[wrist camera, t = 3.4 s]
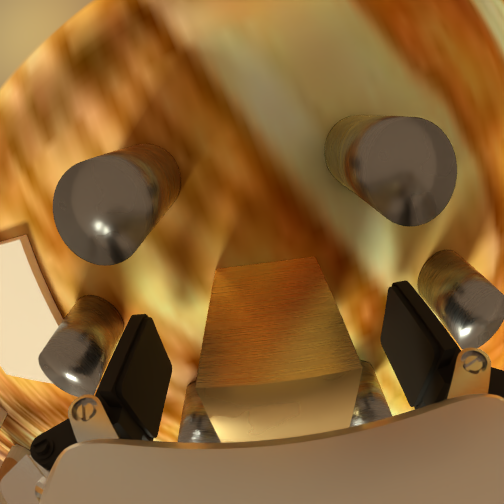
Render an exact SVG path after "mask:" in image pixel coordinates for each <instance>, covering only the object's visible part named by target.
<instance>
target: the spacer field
mask: <svg viewBox="0 0 504 504" xmlns="http://www.w3.org/2000/svg"><path fill="white" fill-rule="evenodd" d="M325 160H326V164H327V166H328V169H329V171H330V172H331V174H332V175H333V176H334V178H335V179H336V180H337V181H339V182H340V183H341V184H343V185H344V186H345V187H347V188H348V189H350V190H351V191H352V192H354V193H355V194H356V195H358V196H359V197H360V198H362V199H363V200H364V201H366V202H367V203H368V204H369V205H371V206H372V207H373V208H375V209H376V210H377V211H378V212H380V213H381V214H382V215H383V216H385V217H386V218H387V219H389V220H390V221H392V222H394V223H396V224H398V225H402V226H418V225H422V224H425V223H427V222H429V221H431V220H432V219H434V218H435V217H436V216H437V215H439V214H440V213H441V211H442V210H443V209H444V208H445V207H446V205H447V204H448V202H449V200H450V198H451V196H452V194H453V191H454V188H455V184H456V177H457V164H456V157H455V153H454V150H453V147H452V145H451V143H450V141H449V139H448V138H447V136H446V135H445V134H444V132H443V131H442V130H441V129H440V128H439V127H438V126H436V125H435V124H433V123H432V122H430V121H428V120H425V119H422V118H416V117H400V116H371V115H356V116H350V117H347V118H344V119H342V120H341V121H339V122H338V123H337V124H336V125H335V126H334V127H333V128H332V129H331V131H330V132H329V134H328V136H327V139H326V143H325ZM180 185H181V177H180V172H179V168H178V166H177V164H176V162H175V160H174V159H173V157H172V156H171V155H170V154H169V153H168V152H167V151H166V150H164V149H162V148H161V147H159V146H156V145H152V144H138V145H134V146H131V147H127V148H124V149H120V150H117V151H113V152H110V153H107V154H104V155H101V156H97V157H94V158H91V159H88V160H85V161H82V162H80V163H78V164H75V165H74V166H72V167H71V168H70V169H68V170H67V171H66V172H65V173H64V175H63V176H62V177H61V179H60V180H59V182H58V185H57V187H56V190H55V193H54V198H53V214H54V220H55V224H56V227H57V229H58V232H59V234H60V236H61V238H62V239H63V241H64V242H65V244H66V245H67V246H68V247H69V248H70V249H71V250H72V251H73V252H74V253H75V254H76V255H77V256H79V257H80V258H82V259H84V260H86V261H88V262H90V263H93V264H97V265H114V264H118V263H120V262H123V261H124V260H126V259H128V258H129V257H130V256H131V255H132V254H133V253H134V252H135V251H136V250H137V248H138V247H139V246H140V245H141V243H142V242H143V241H144V239H145V238H146V237H147V235H148V234H149V233H150V232H151V230H152V229H153V228H154V227H155V225H156V224H157V223H158V222H159V220H160V219H161V218H162V217H163V215H164V214H165V213H166V212H167V210H168V209H169V208H170V207H171V206H172V204H173V203H174V202H175V200H176V198H177V196H178V194H179V190H180ZM418 291H419V293H420V295H421V296H422V297H423V298H424V300H425V301H426V302H427V303H428V305H429V306H430V307H431V308H432V310H433V311H434V312H435V313H436V315H437V316H438V317H439V319H440V320H441V321H442V323H443V324H444V325H445V327H446V328H447V329H448V331H449V332H450V333H451V335H452V336H453V337H454V339H455V340H456V341H457V343H458V344H459V346H460V347H461V348H462V349H465V348H470V347H472V348H478V347H480V346H482V345H483V344H484V343H486V342H487V341H488V340H489V339H490V338H491V337H492V336H493V335H494V334H495V333H496V331H497V330H498V329H499V327H500V325H501V324H502V322H503V320H504V295H503V294H502V293H501V292H500V291H499V290H498V289H497V288H496V287H495V286H494V285H492V284H491V283H490V282H489V281H488V280H487V279H486V278H485V277H484V276H483V275H481V274H480V273H479V272H478V271H477V270H476V269H475V268H473V267H472V266H471V265H470V264H469V263H468V262H466V261H465V260H464V259H463V258H462V257H460V256H459V255H458V254H457V253H456V252H454V251H452V250H443V251H440V252H438V253H436V254H435V255H433V256H432V257H431V258H430V259H429V260H428V261H427V262H426V263H425V265H424V266H423V268H422V270H421V272H420V275H419V278H418ZM123 327H124V326H123V320H122V318H121V316H120V314H119V312H118V311H117V310H116V309H115V308H114V307H113V306H112V305H111V304H110V303H109V302H107V301H106V300H104V299H102V298H100V297H97V296H92V295H87V296H83V297H81V298H80V299H79V300H78V301H77V302H76V304H75V305H74V306H73V308H72V309H71V310H70V312H69V313H68V314H67V316H66V317H65V318H64V320H63V321H62V323H61V324H60V325H59V327H58V328H57V330H56V331H55V332H54V334H53V335H52V337H51V338H50V340H49V341H48V343H47V344H46V346H45V347H44V348H43V350H42V352H41V353H40V355H39V357H38V361H39V365H40V367H41V369H42V371H43V372H44V374H45V375H46V376H47V378H48V379H49V380H50V381H51V382H52V383H54V384H55V385H56V386H57V387H59V388H60V389H62V390H63V391H65V392H67V393H69V394H71V395H74V396H77V397H80V396H83V395H88V394H90V395H94V393H95V391H96V389H97V386H98V384H99V382H100V379H101V377H102V375H103V373H104V370H105V368H106V366H107V364H108V362H109V359H110V357H111V355H112V353H113V351H114V349H115V347H116V344H117V342H118V340H119V338H120V336H121V334H122V332H123ZM360 363H361V365H362V373H361V378H360V383H359V388H358V393H357V397H356V402H355V406H354V410H353V415H352V419H351V423H350V427H353V426H357V425H362V424H366V423H370V422H374V421H377V420H381V419H385V418H388V417H392V415H391V412H390V409H389V407H388V404H387V402H386V399H385V397H384V394H383V392H382V389H381V387H380V384H379V382H378V379H377V377H376V374H375V372H374V370H373V367H372V365H371V364H370V363H368V362H366V361H360ZM195 387H196V381H194V382H192V383H191V384H189V385H188V387H187V389H186V394H185V400H184V406H183V412H182V418H181V423H180V430H179V436H178V442H183V443H221V441H220V439H219V437H218V435H217V433H216V431H215V429H214V427H213V425H212V423H211V421H210V419H209V417H208V415H207V413H206V410H205V408H204V406H203V404H202V402H201V400H200V397H199V395H198V393H197V391H196V389H195Z"/></svg>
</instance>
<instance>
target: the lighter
mask: <svg viewBox="0 0 504 504" xmlns="http://www.w3.org/2000/svg"><path fill="white" fill-rule="evenodd" d="M7 414H8V413H7V412H6V411H5V410H4V409H3V408H1V407H0V427H1V425H2V424H3V422H4V420H5V418H6V416H7Z"/></svg>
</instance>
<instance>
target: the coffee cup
mask: <svg viewBox="0 0 504 504" xmlns="http://www.w3.org/2000/svg"><path fill="white" fill-rule="evenodd" d="M26 454H27V455H28V456H30V455H31V453H30V451H29V450H28V449H26V448H24V447H22V446H20V445H18V444H15V446H12V448H11V450H10V451H9V453H8V455H7V457H6V458H5V460H4V462H3V464H2V466H1V468H0V482H1V480H2V478H3V477H4V476H5V475H6V474H7V473H8V472H9V471H10V470H11V469H12V468H13V467H14V466H15V465H16V464H17V463H18V462H19V461H20V460H21V459H22V458H23V457H24V456H25V455H26ZM0 504H8V503H7V502H6V500H5V499H4V497H3V495H2V493H1V491H0Z"/></svg>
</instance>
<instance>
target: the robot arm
mask: <svg viewBox="0 0 504 504" xmlns="http://www.w3.org/2000/svg"><path fill="white" fill-rule="evenodd" d="M381 345H382V347H383V349H384V351H385V353H386V355H387V357H388V359H389V361H390V364H391V366H392V368H393V370H394V372H395V374H396V376H397V378H398V380H399V383H400V385H401V387H402V389H403V391H404V393H405V396H406V398H407V400H408V402H409V404H410V406H411V407H413V406H414V407H415V410H412V411H409V412H406V413H402V414H399V415H395V416H392V417H388V418H385V419H381V420H377V421H374V422H370V423H366V424H362V425H357V426H353V427H348V428H344V429H339V430H333V431H328V432H323V433H317V434H311V435H304V436H297V437H289V438H281V439H272V440H261V441H247V442H226V443H183V442H159V441H153V438H156V437H157V435H158V431H159V426H160V421H161V417H162V412H163V408H164V403H165V399H166V395H167V390H168V386H169V382H170V378H171V374H172V365H171V362H170V360H169V358H168V355H167V353H166V351H165V348H164V346H163V344H162V341H161V339H160V337H159V334H158V332H157V329H156V327H155V324H154V322H153V320H152V318H151V317H148V316H147V315H146V314H138V315H132V316H131V318H130V320H129V322H128V324H127V326H126V328H125V330H124V332H123V334H122V336H121V338H120V340H119V343H118V345H117V347H116V349H115V351H114V353H113V355H112V358H111V360H110V362H109V364H108V366H107V369H106V371H105V373H104V375H103V378H102V380H101V382H100V385H99V387H98V389H97V392H96V394H95V396H94V395H90V394H88V395H83V396H80V397H78V398H77V399H75V400H74V401H73V402H72V403H71V405H70V407H69V410H68V416H69V419H67V420H65V421H64V422H62V423H60V424H58V425H57V426H55V427H53V428H51V429H49V430H48V431H46V432H44V433H42V434H41V435H39V436H37V437H36V438H35V439H34V441H33V442H32V444H31V448H30V453H31V455H30V456H28V455H27V454H26V455H25V456H24V457H23V458H22V459H21V460H20V461H19V462H18V463H17V464H16V465H15V466H14V467H13V468H12V469H11V470H10V471H9V472H8V473H7V474H6V475H5V476H4V477H3V478H2V480H1V482H0V491H1V493H2V495H3V497H4V499H5V500H6V502H7V503H8V504H504V371H502V370H499V369H496V368H492V367H491V361H490V358H489V356H488V355H487V354H486V353H485V352H483V351H482V350H480V349H477V348H472V347H470V348H465V349H463V350H462V351H461V350H460V349H459V347H458V346H457V344H456V343H455V341H454V340H453V339H452V337H451V336H450V335H449V333H448V332H447V330H446V329H445V328H444V326H443V325H442V324H441V322H440V321H439V320H438V319H437V317H436V316H435V315H434V313H433V312H432V311H431V309H430V308H429V307H428V306H427V304H426V303H425V302H424V301H423V299H422V298H421V297H420V296H419V294H418V293H417V292H416V291H415V290H414V288H413V287H412V286H411V285H410V283H409V282H408V281H400V282H395V283H393V284H392V287H389V289H388V295H387V302H386V309H385V315H384V321H383V327H382V333H381Z"/></svg>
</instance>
